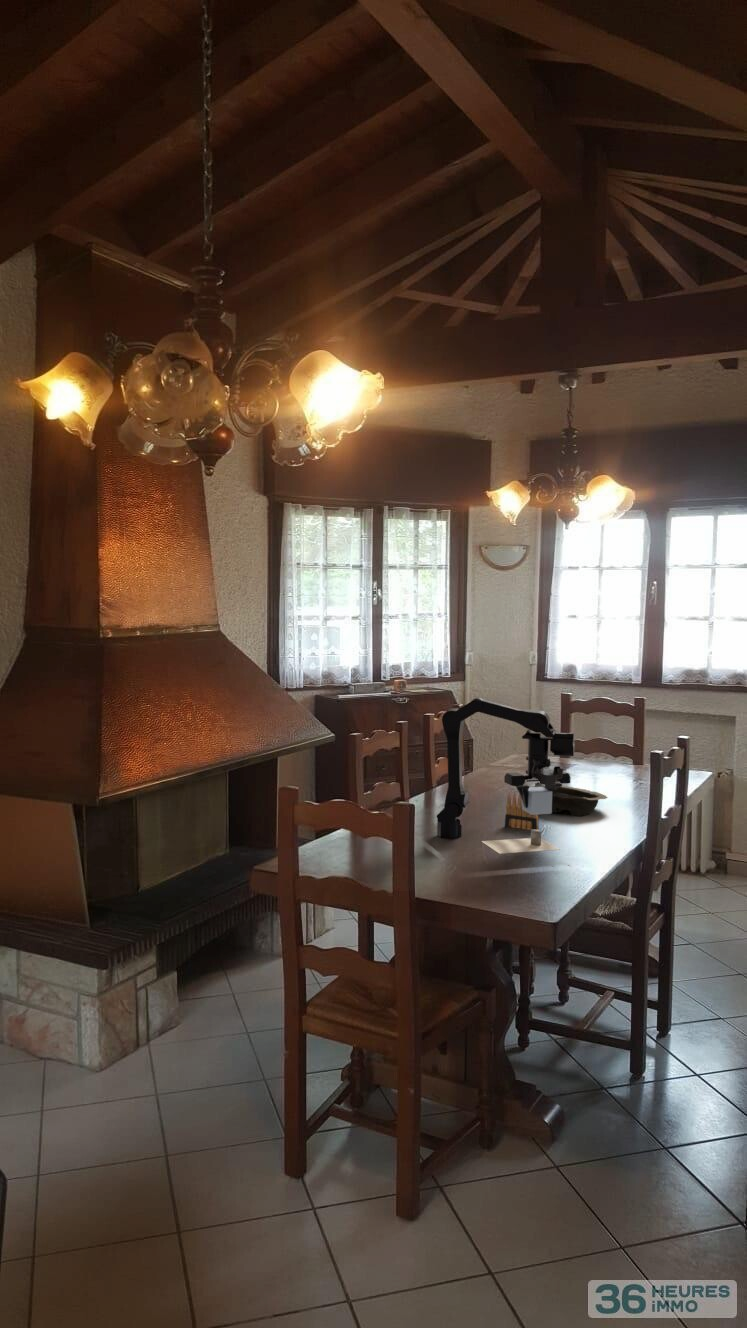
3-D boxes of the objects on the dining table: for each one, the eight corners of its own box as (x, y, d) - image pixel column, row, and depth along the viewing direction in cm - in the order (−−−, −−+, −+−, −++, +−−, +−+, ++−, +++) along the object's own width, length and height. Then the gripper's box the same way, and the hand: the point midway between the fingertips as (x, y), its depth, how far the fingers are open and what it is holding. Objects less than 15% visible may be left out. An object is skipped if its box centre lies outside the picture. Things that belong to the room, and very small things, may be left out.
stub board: (499, 857, 254) (499, 839, 254) (481, 845, 267) (481, 827, 266) (560, 853, 260) (560, 835, 259) (539, 841, 272) (540, 824, 272)
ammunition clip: (538, 833, 281) (539, 795, 280) (536, 834, 280) (537, 796, 279) (506, 828, 287) (507, 791, 286) (504, 829, 285) (505, 792, 284)
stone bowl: (524, 813, 306) (525, 786, 306) (545, 804, 329) (546, 778, 328) (596, 821, 295) (598, 793, 295) (614, 811, 317) (615, 785, 317)
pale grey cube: (531, 814, 260) (532, 792, 259) (521, 809, 266) (522, 787, 265) (551, 813, 262) (552, 791, 261) (541, 808, 268) (542, 786, 267)
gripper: (520, 760, 252) (519, 815, 253) (580, 758, 257) (578, 812, 259) (504, 753, 263) (502, 806, 264) (562, 751, 268) (560, 803, 269)
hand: (536, 807), depth 264 cm, fingers closed on pale grey cube, 6 cm apart
